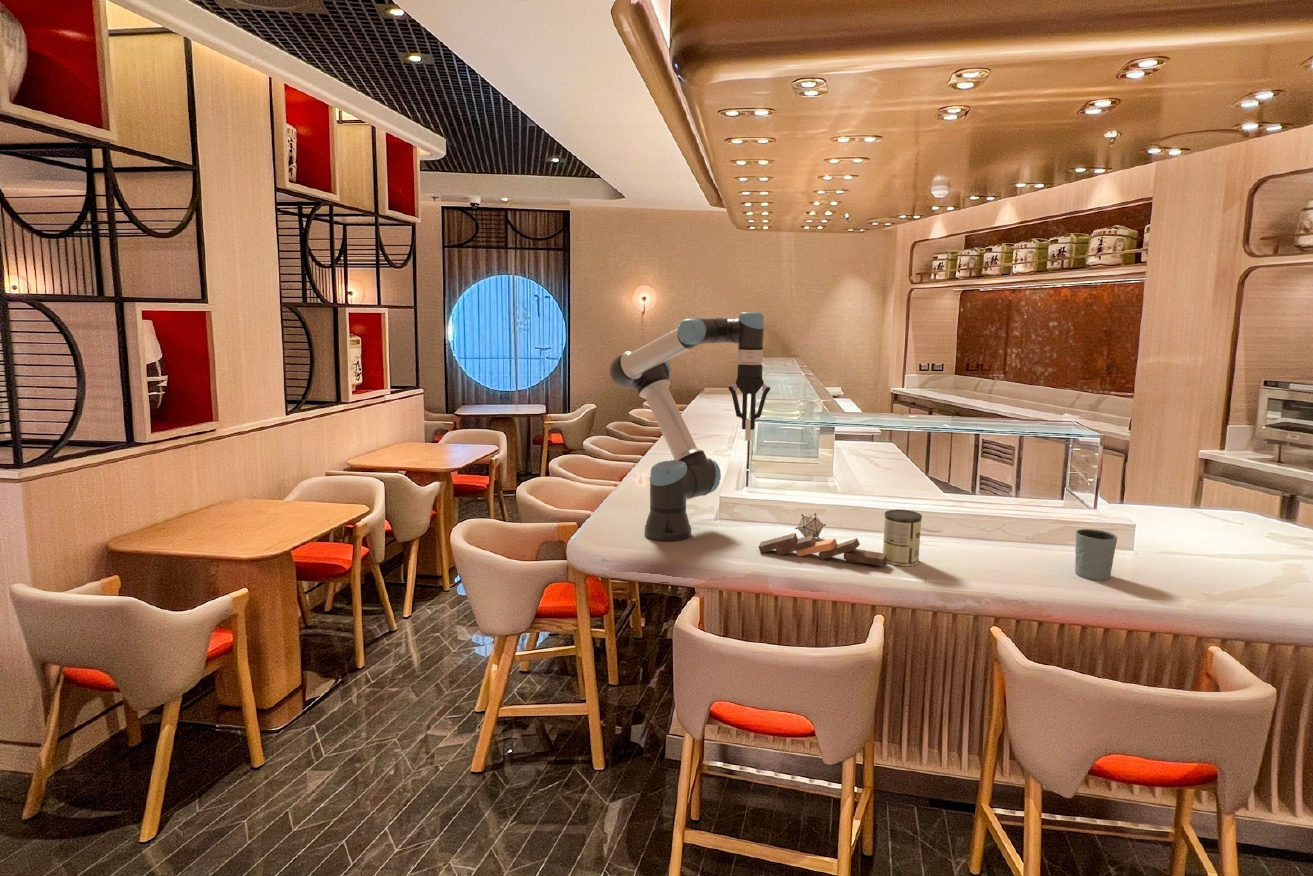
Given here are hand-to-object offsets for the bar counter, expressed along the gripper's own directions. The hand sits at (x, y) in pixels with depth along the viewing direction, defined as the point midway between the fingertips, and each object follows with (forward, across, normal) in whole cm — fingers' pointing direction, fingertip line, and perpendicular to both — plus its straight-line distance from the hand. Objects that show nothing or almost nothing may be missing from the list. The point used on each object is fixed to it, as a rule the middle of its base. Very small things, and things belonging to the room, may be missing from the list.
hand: (747, 439), depth 235 cm
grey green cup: (+33, +98, -9) cm, 103 cm away
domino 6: (+32, +31, -12) cm, 46 cm away
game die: (+33, +20, +7) cm, 39 cm away
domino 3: (+31, +17, -9) cm, 37 cm away
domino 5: (+30, +31, -12) cm, 45 cm away
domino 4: (+32, +24, -11) cm, 41 cm away
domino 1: (+31, +6, -9) cm, 33 cm away
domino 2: (+32, +11, -10) cm, 35 cm away
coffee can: (+33, +46, -8) cm, 57 cm away
